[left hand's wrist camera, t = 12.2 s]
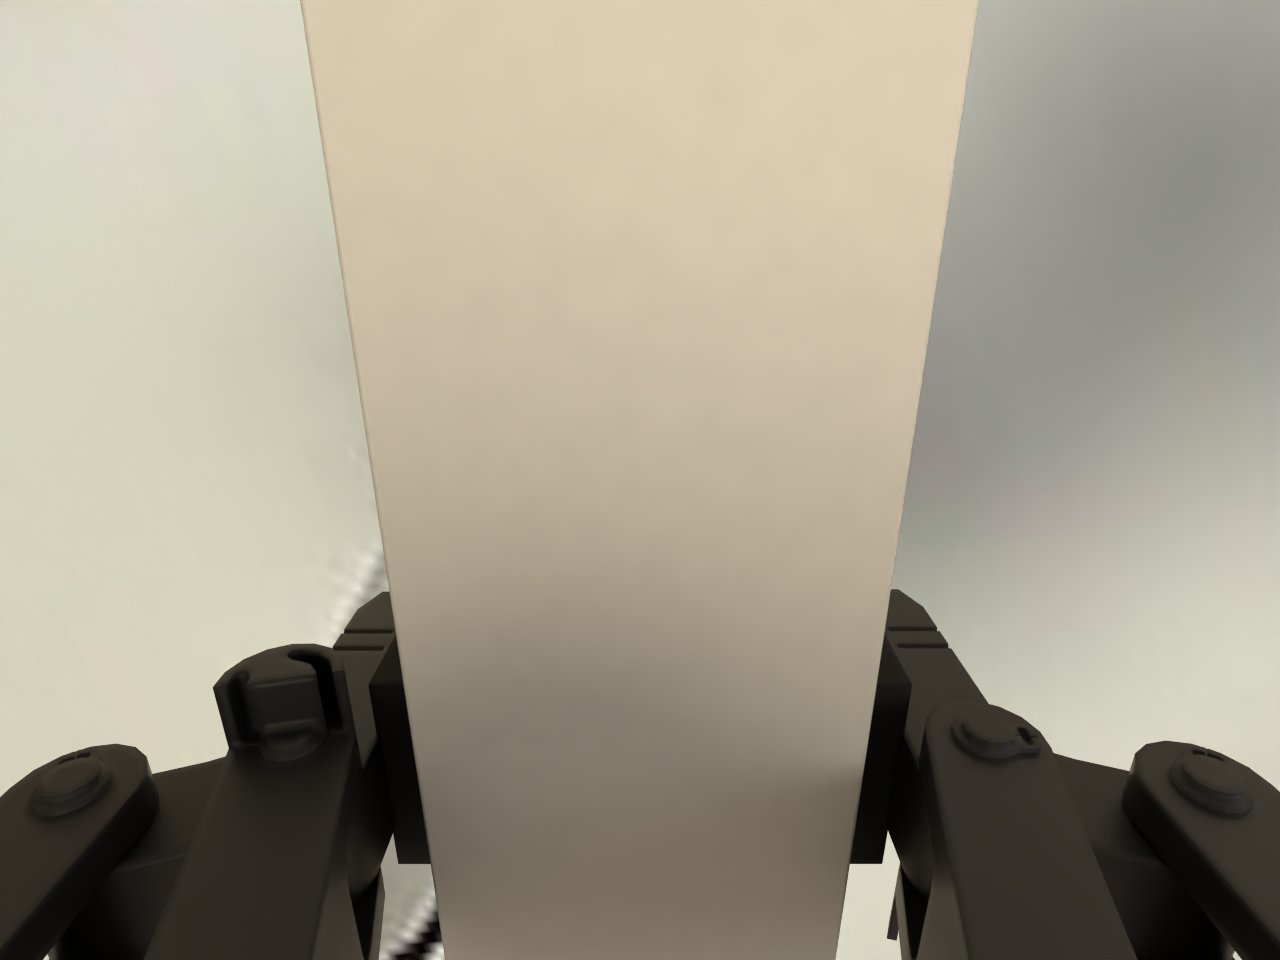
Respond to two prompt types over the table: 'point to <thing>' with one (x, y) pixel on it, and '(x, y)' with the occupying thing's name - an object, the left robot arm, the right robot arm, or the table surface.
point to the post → (639, 436)
